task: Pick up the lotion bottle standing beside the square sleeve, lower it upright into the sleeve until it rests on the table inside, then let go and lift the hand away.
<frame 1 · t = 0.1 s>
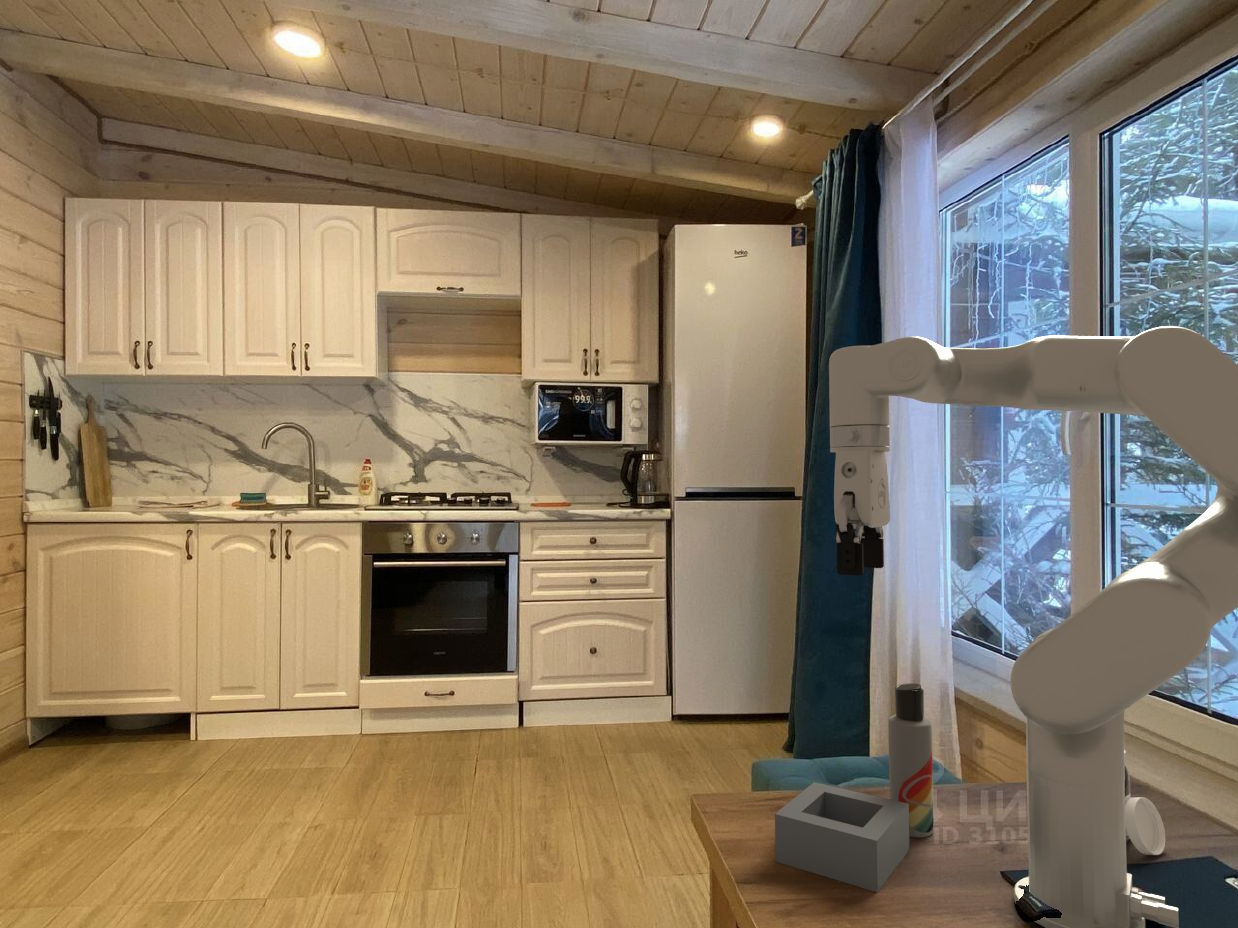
hand: (861, 570, 102), 37 cm above the table, tool pointing down, fingers open, 9 cm apart
sleeve: (843, 855, 100), on the table
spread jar: (1114, 839, 105), on the table
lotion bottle: (911, 830, 108), on the table
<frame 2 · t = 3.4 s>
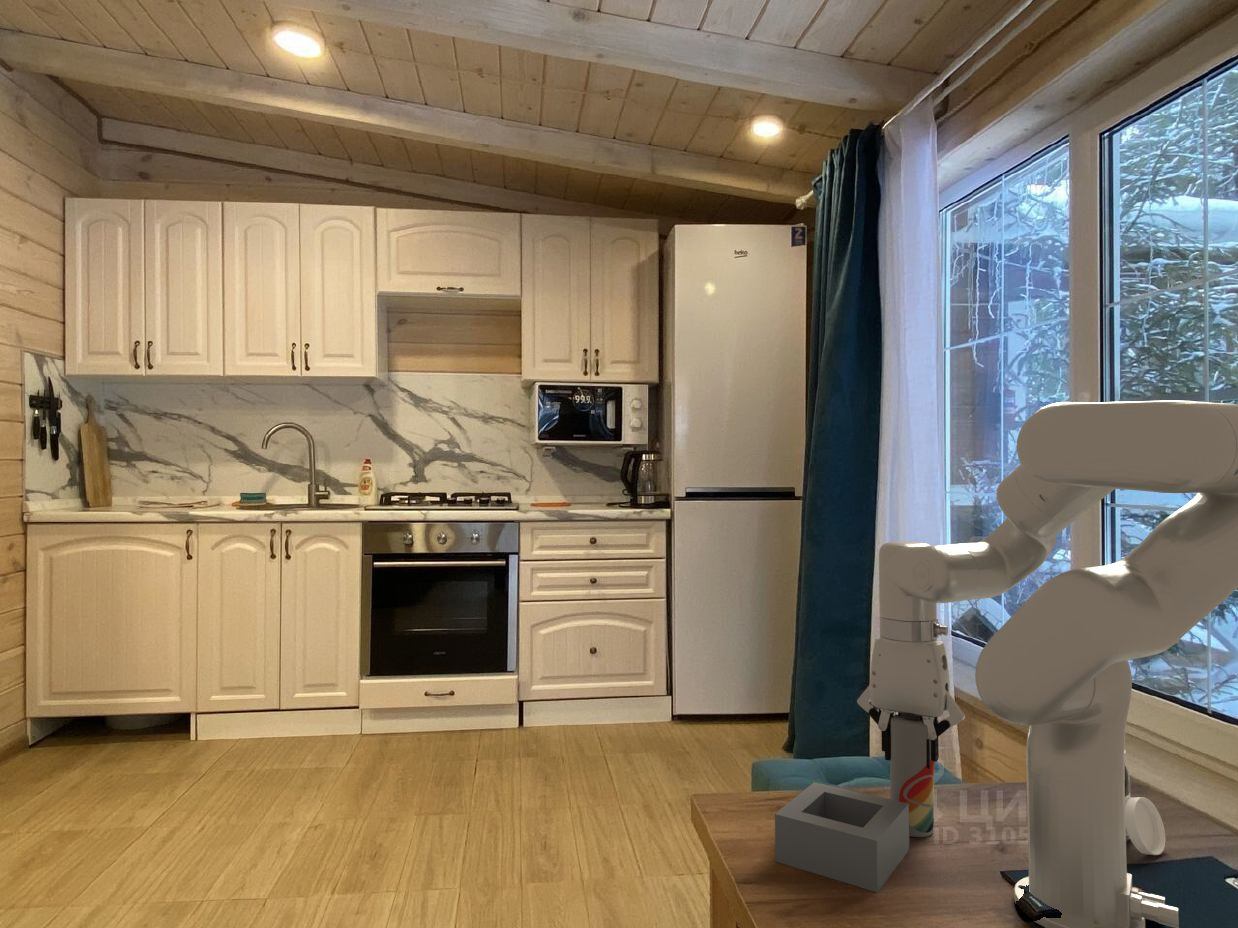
hand: (909, 760, 108), 9 cm above the table, tool pointing down, fingers closed on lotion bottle, 4 cm apart
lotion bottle: (911, 830, 108), on the table, touching gripper
everything else where it was.
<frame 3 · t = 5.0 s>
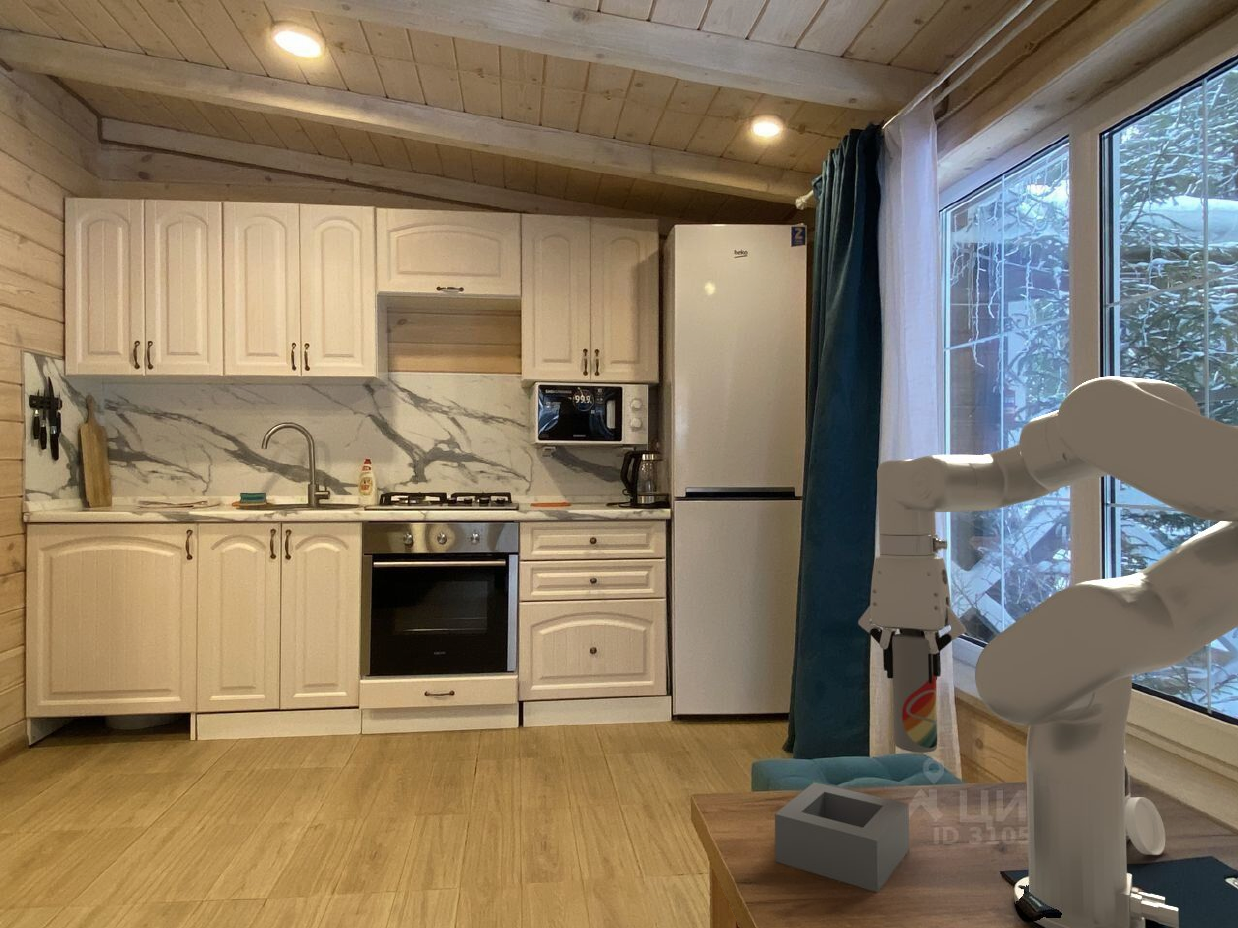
hand: (912, 677, 108), 21 cm above the table, tool pointing down, fingers closed on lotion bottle, 4 cm apart
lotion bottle: (915, 748, 107), point 11 cm above the table, touching gripper
everything else where it was.
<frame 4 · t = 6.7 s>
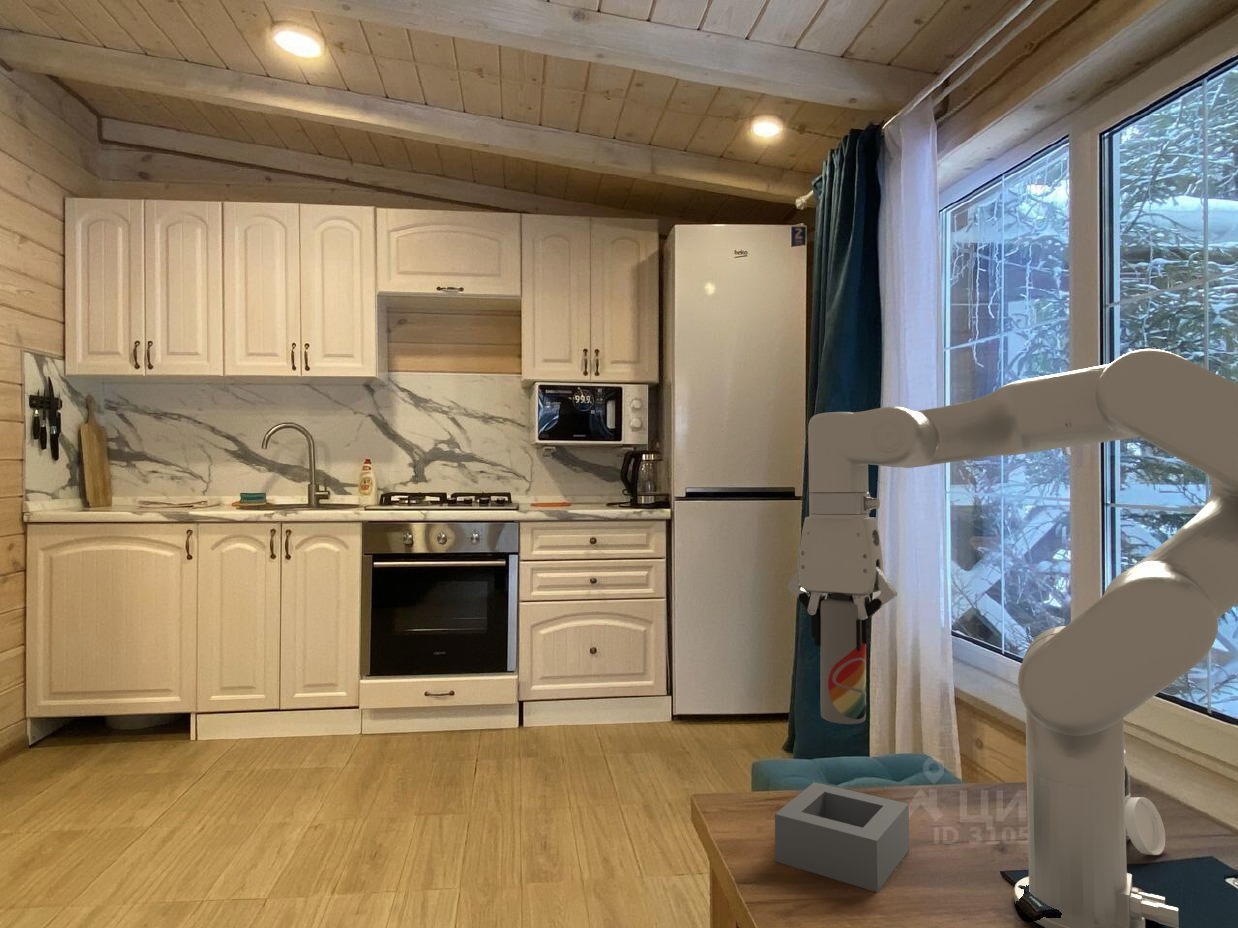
hand: (840, 645, 101), 27 cm above the table, tool pointing down, fingers closed on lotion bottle, 4 cm apart
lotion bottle: (843, 719, 101), point 17 cm above the table, touching gripper
everything else where it was.
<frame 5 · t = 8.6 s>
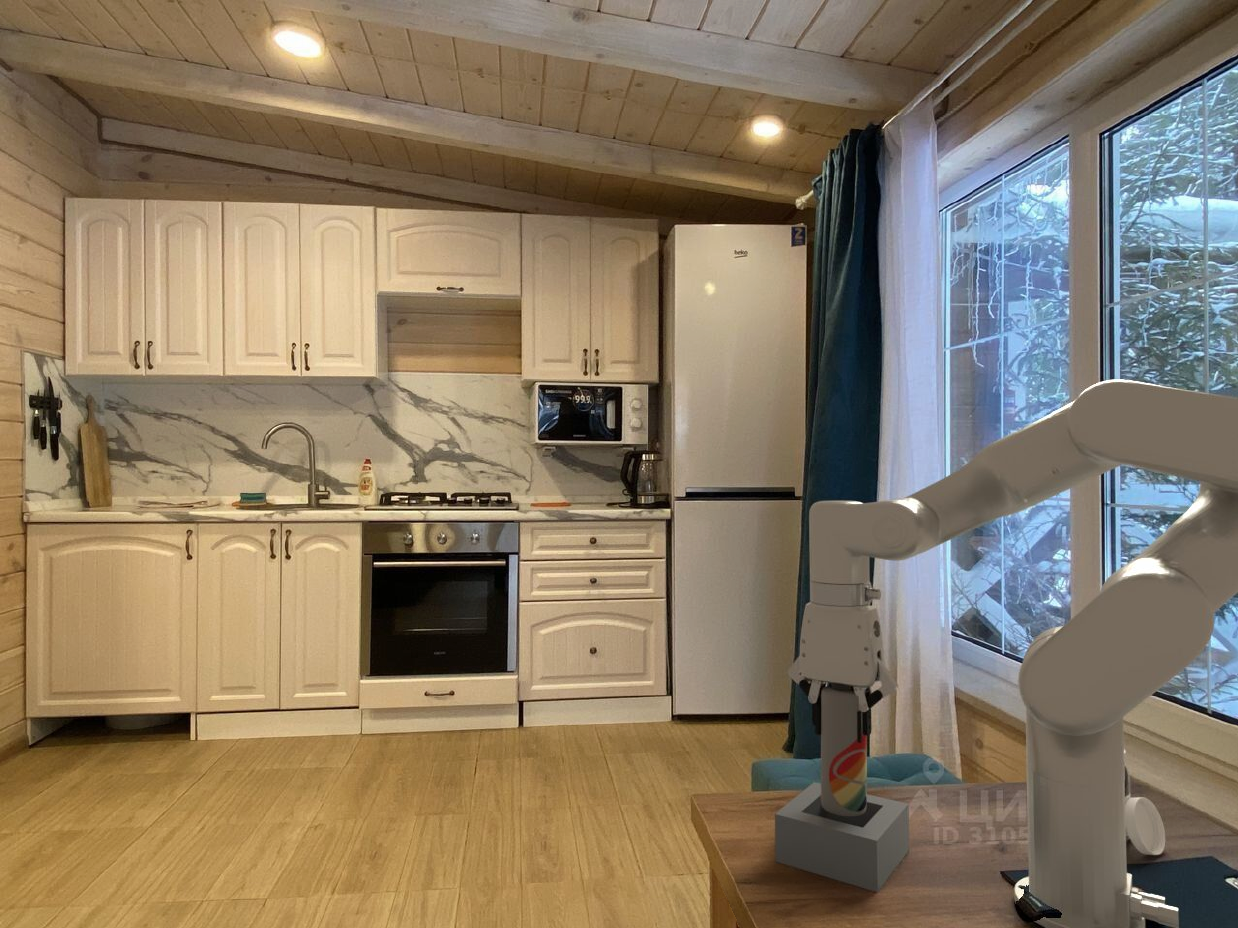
hand: (841, 734, 101), 16 cm above the table, tool pointing down, fingers closed on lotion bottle, 4 cm apart
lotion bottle: (843, 809, 100), point 6 cm above the table, touching gripper
everything else where it was.
when the fingers open (11 cm above the table, at t = 9.9 s): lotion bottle drops 1 cm, resting in sleeve.
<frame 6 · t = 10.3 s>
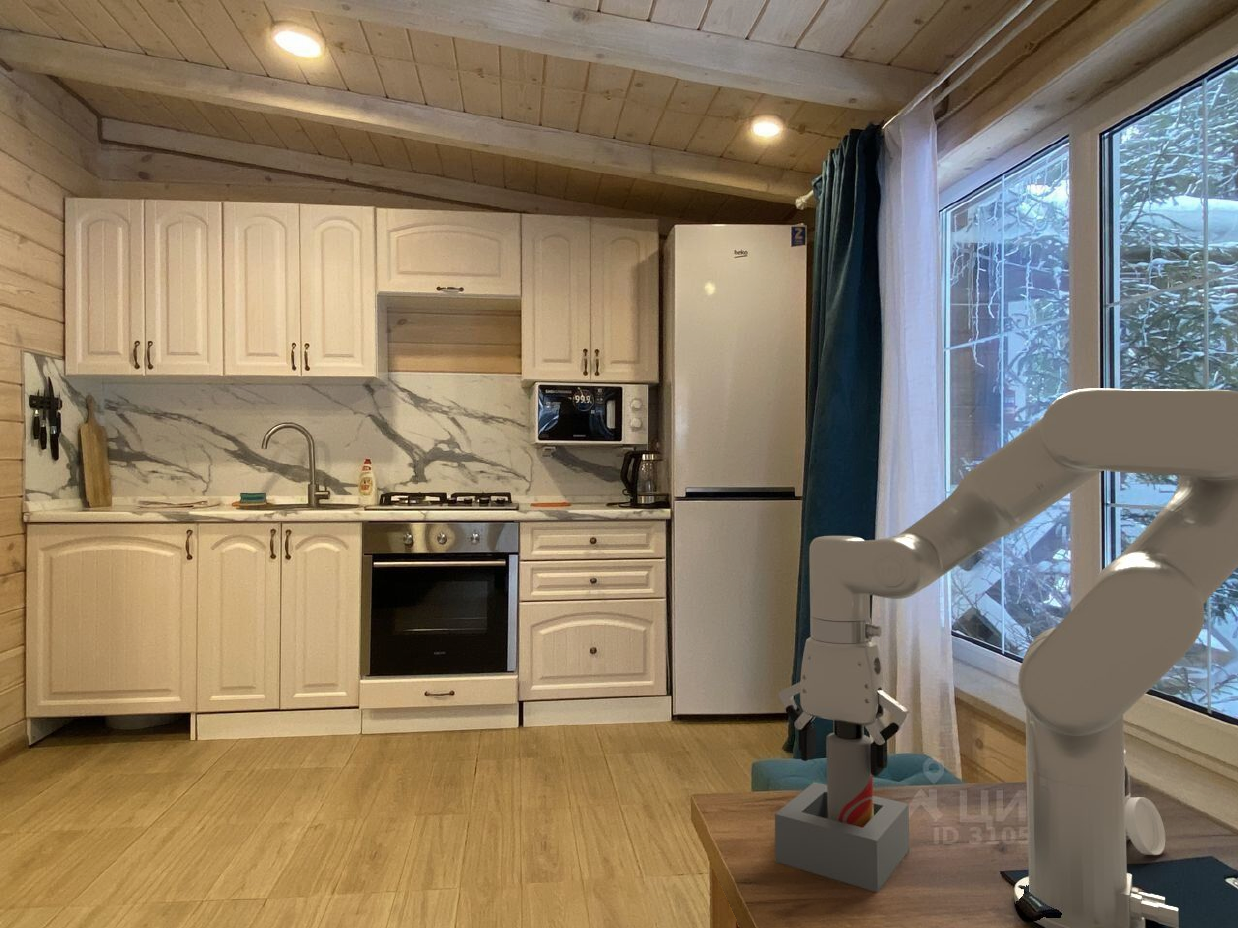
hand: (842, 764, 101), 12 cm above the table, tool pointing down, fingers open, 8 cm apart
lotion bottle: (851, 857, 100), resting in sleeve
everything else where it was.
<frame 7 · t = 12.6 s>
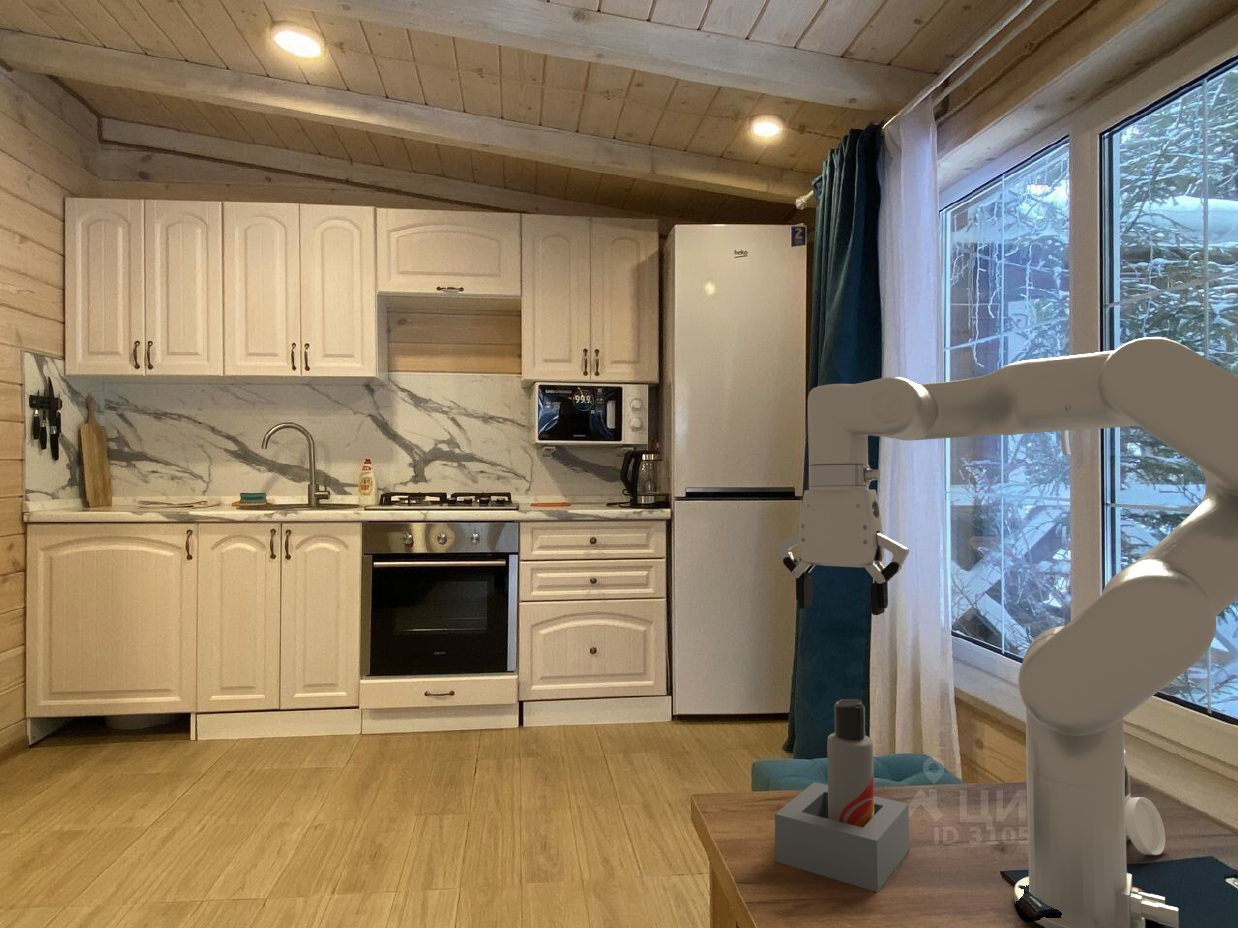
hand: (841, 610, 101), 32 cm above the table, tool pointing down, fingers open, 9 cm apart
nothing on the table moved.
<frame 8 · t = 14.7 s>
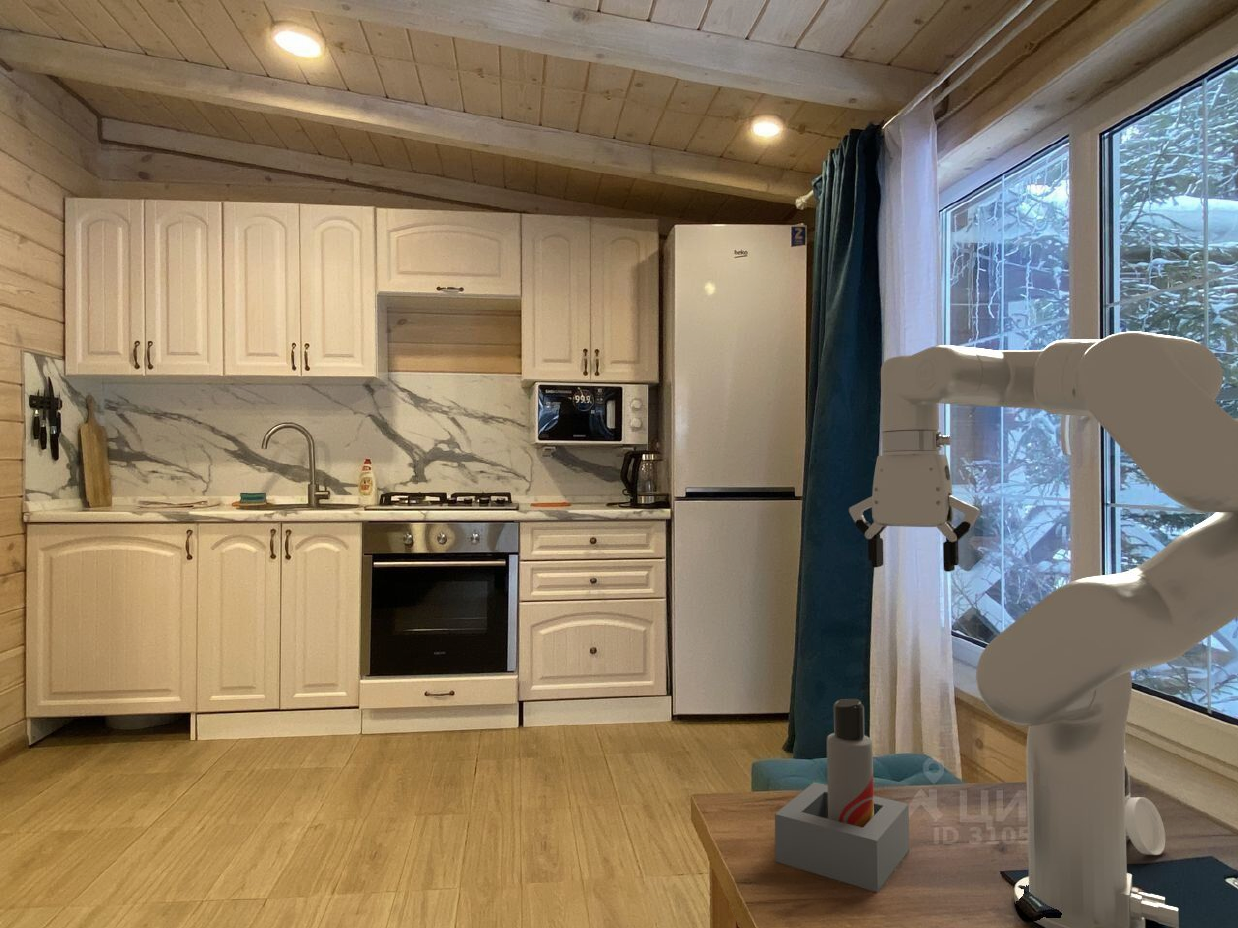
hand: (912, 568, 108), 36 cm above the table, tool pointing down, fingers open, 9 cm apart
nothing on the table moved.
at the end: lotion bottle 1.0 cm off-centre on the sleeve, point 0.0 cm above the sleeve's base; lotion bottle tilted 0°; the gripper is holding nothing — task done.
